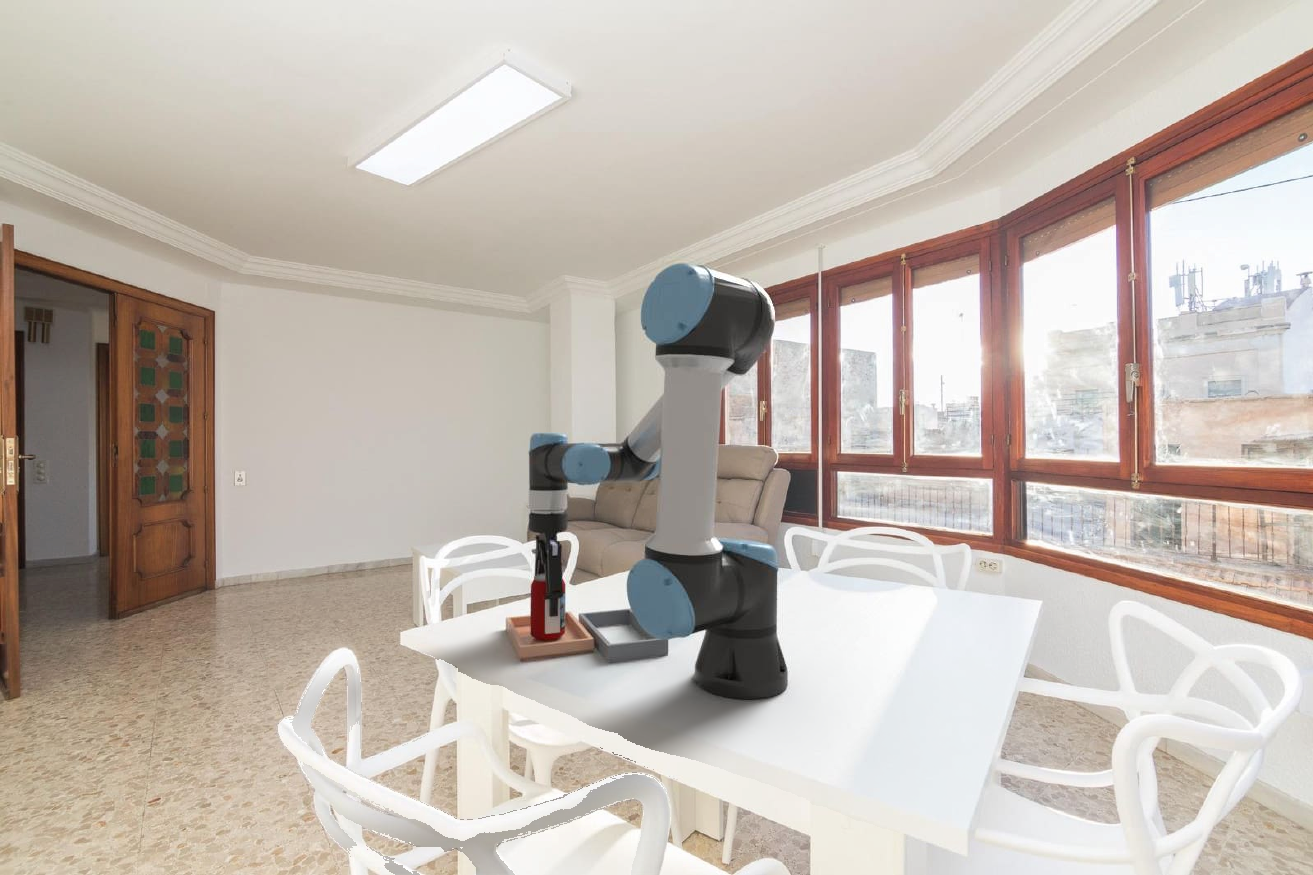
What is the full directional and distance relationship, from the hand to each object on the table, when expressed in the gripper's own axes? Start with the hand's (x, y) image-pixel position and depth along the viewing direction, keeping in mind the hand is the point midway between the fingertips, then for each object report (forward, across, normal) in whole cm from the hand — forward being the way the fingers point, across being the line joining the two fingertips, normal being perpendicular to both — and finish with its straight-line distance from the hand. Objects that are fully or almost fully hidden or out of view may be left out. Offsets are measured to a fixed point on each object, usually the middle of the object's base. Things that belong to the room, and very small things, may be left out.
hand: (547, 625), depth 119 cm
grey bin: (+3, -5, -14) cm, 15 cm away
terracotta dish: (+3, 0, 0) cm, 3 cm away
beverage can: (+3, 0, 0) cm, 3 cm away
